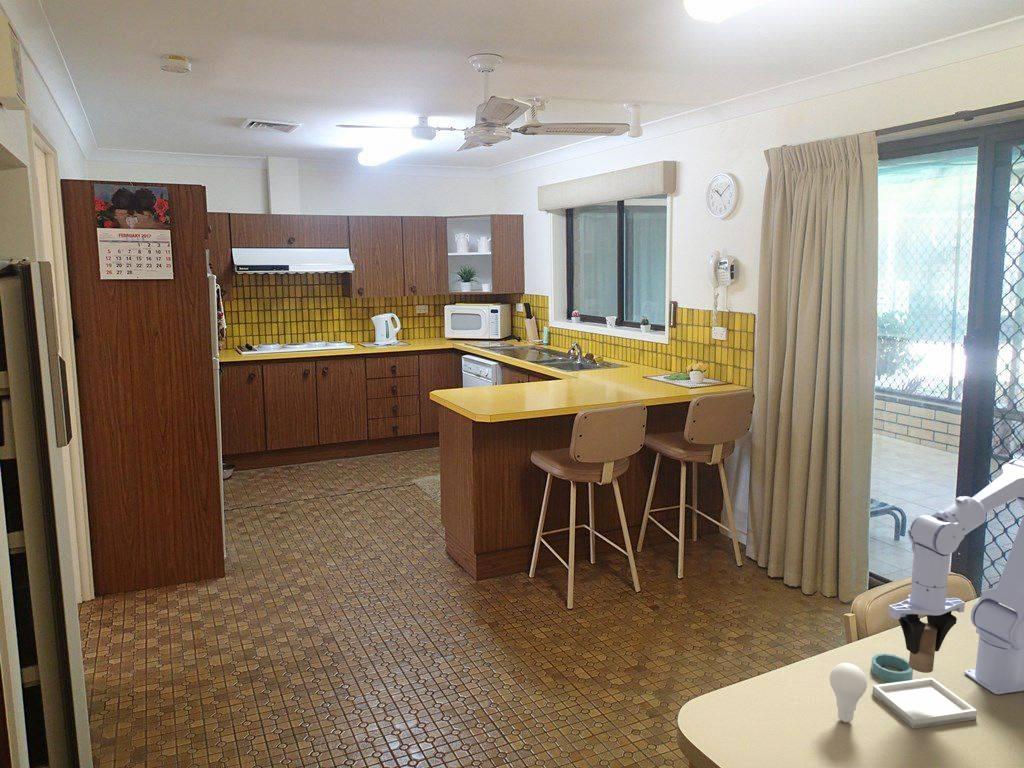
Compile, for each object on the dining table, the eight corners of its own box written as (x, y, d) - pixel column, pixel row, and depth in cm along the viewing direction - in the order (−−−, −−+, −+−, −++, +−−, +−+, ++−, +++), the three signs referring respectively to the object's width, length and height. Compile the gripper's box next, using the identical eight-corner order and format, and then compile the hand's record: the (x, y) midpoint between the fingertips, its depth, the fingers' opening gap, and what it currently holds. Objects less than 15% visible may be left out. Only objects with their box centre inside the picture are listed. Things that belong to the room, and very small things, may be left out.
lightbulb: (867, 733, 133) (872, 676, 131) (830, 729, 134) (834, 672, 132) (858, 713, 139) (863, 658, 137) (823, 709, 140) (827, 654, 138)
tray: (931, 685, 147) (931, 677, 147) (976, 719, 137) (977, 710, 137) (872, 694, 145) (873, 685, 144) (913, 728, 134) (914, 719, 134)
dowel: (922, 660, 144) (926, 620, 142) (938, 671, 140) (942, 631, 138) (903, 662, 143) (907, 623, 141) (919, 673, 139) (923, 633, 138)
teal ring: (894, 661, 156) (895, 652, 156) (919, 681, 149) (920, 670, 149) (863, 666, 155) (864, 656, 154) (887, 685, 148) (888, 675, 147)
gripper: (947, 569, 144) (940, 635, 146) (879, 575, 141) (873, 643, 143) (976, 584, 137) (969, 654, 139) (906, 592, 134) (899, 662, 136)
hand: (922, 650), depth 141 cm, fingers closed on dowel, 4 cm apart
